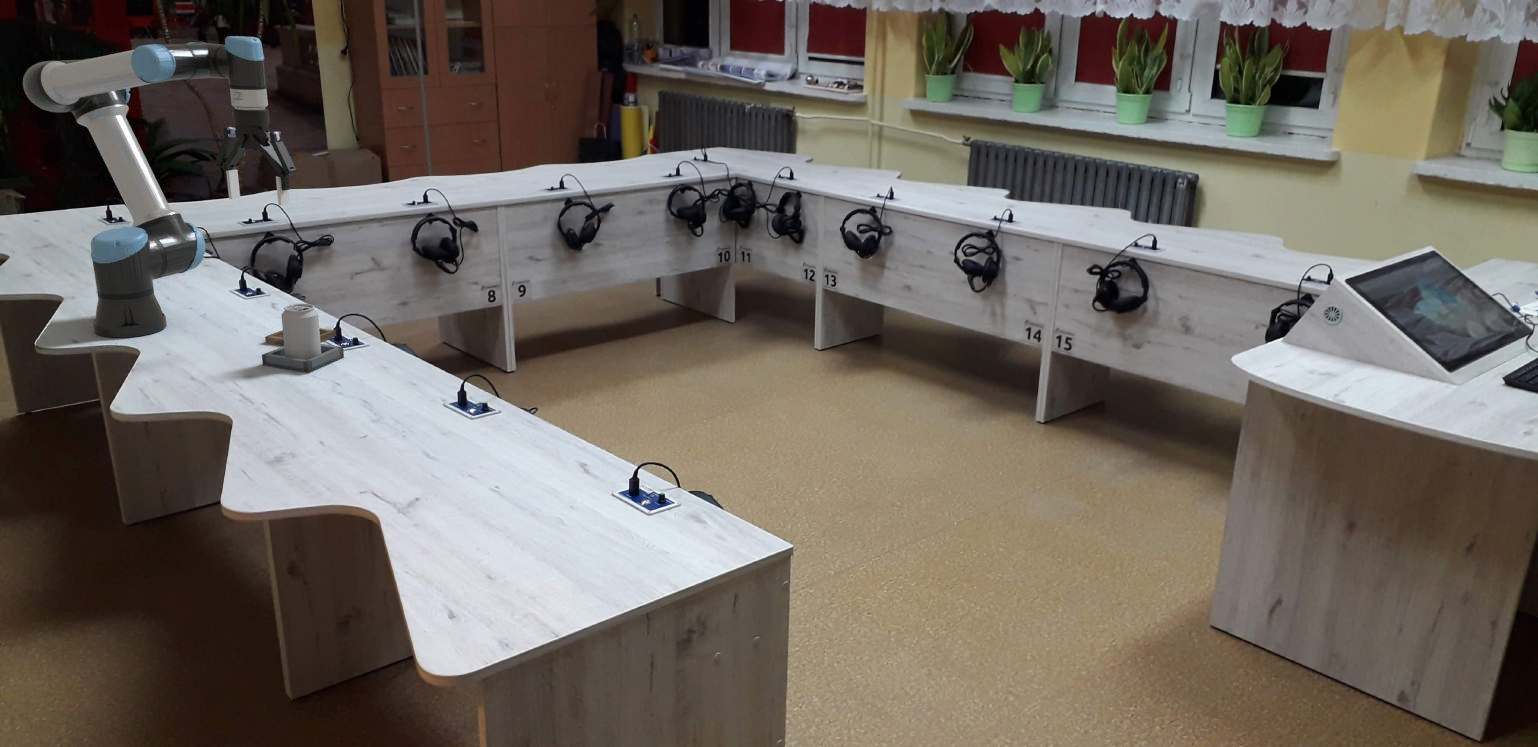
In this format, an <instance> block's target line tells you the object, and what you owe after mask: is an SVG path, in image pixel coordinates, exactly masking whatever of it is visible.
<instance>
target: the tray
mask: <svg viewBox="0 0 1538 747" xmlns="http://www.w3.org/2000/svg"><path fill="white" fill-rule="evenodd" d="M344 358H345V353H344V346H338V345H333V344H326V343H325V344H324V343H321V354H320V355H317V356H315V357H313V358H310V359H308V360H305V359H298V358H292V357H286V356H285V348H284V346H283V345H282V346H281V347H278V348H274V349H273V350H270V351H268V352H265V353H263V354H261V359H262V366H263V367H271V368H275V369H276V368H277V369H283V370H289V371H293V372H294V371H295V372H301V373H307V374H311V373H313V372H315V371H317V370H319V369H321V368H324V367H326V366H329V365H331V364H333V363H335V362H337V361H340V360H341V359H344Z"/></svg>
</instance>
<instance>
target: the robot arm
mask: <svg viewBox="0 0 1538 747" xmlns="http://www.w3.org/2000/svg"><path fill="white" fill-rule="evenodd" d="M224 43H225V44H219V43H209V42H203V41H199V42H198V41H193V42H187V43H176V44H175V43H174V44H172V43H171V44H158V43H149V44H144V45H139V46H137V47H136V48H135V49H131V50H126V51H122V52H116V53H113V54H107V55H103V56H98V57H92V58H84V59H71V60H70V59H67V60H64V59H63V60H47V61H46V60H45V61H41V62H37V63H34V65H31V66H30V67H29V68H28V69H27V70H26V72H25V73H24V75H23V79H22V88H23V90H24V93H25V95H26V97H27V98H28V99H29V101H30V102H31V103H32V104H34V105H35V106H37V107H38V108H39V109H42V110H43V111H48V112H50V113H51V112H52V113H69V112H70V113H72V114H73V116H74V118H75V121H76V123H77V124H79V125H81V126H83V127H86V128H87V129H88V131H89V134H90V135H91V137H92V139H93V141H94V143H95V146H96V147H97V149H98V152H99V153H100V156H101V157H102V159H103V161H104V163H105V166H106V167H107V169H108V172H109V174H110V175H111V177H112V179H113V182H114V184H115V186H116V188H117V190H118V192H119V194H120V196H121V197H122V200H123V202H124V204H125V206H126V208H127V210H128V212H129V214H130V216H131V218H132V220H133V222H132V225H131V226H124V227H123V226H122V227H120V228H118V227H116V228H112V229H107V230H104V231H100V232H98V233H97V234H96V235H94V236H93V238H92V239H91V242H90V250H91V252H90V258H91V261H92V266H93V273H94V279H95V285H96V292H97V293H96V294H97V299H98V300H97V304H96V311H95V318H94V319H93V322H92V325H93V330H94V334H96V335H98V336H102V337H105V338H106V337H107V338H132V337H134V338H135V337H140V336H146V335H151V334H155V333H159V332H161V331H163V330H164V329H166V327H167V318H166V315H165V313H164V312H163V310H162V307H161V306H160V303H159V301H158V299H157V297H156V294H155V289H154V282H153V281H154V280H158V279H162V278H164V277H169V276H173V275H177V274H184V273H186V272H188V271H191V270H194V269H195V268H197V267H198V266H199V265H200V264H201V263H202V262H203V260H204V255H205V254H206V242H205V238H204V235H203V233H202V231H201V230H200V228H199V227H198V226H196V225H194V224H193V223H191V222H187V221H184V219H183V216H182V214H181V212H179V211H176V210H174V209H172V208H171V206H170V205H169V202H168V201H167V199H166V196H165V194H164V193H163V191H162V189H161V187H160V184H159V183H158V180H157V179H156V176H155V174H154V172H153V170H152V168H151V166H150V164H149V162H148V160H147V158H146V155H145V154H144V152H143V149H142V148H141V146H140V145H141V144H139V142H138V139H137V137H136V136H135V133H134V131H133V129H132V127H131V124H129V121H128V119H127V114H128V112H129V109H130V108H129V105H128V103H129V101H130V97H131V94H130V93H129V92H130V91H131V88H137V87H141V86H145V85H151V84H158V83H163V82H168V81H179V80H194V79H195V80H196V79H199V80H200V79H225V80H228V83H229V84H228V85H229V91H230V92H229V93H230V94H229V95H230V101H231V106H232V107H234V108H232V110H231V113H232V122H233V125H234V126H227V127H224V128H223V138H222V142H221V144H220V147H219V151H218V155H217V156H216V161H215V167H217V168H221V169H222V170H223V174H224V182H225V184H227V192H228V199H229V200H235V199H240V198H241V192H240V183H239V172H238V169H236V165H238V163H239V161H240V160H241V158H242V156H243V155H244V153H245V151H246V150H253V151H258V152H259V153H261V154H262V155H263V156H264V157H265V158H266V160H267V161H268V162H269V164H270V165H271V167H273V169H274V171H275V172H276V173H277V175H276V176H275V182H276V194H277V203H278V204H277V205H278V206H284V205H287V204H290V197H289V191H290V189H291V182H290V176H291V175H293V174H296V173H297V171H298V170H297V168H296V165H295V164H294V162H293V159H292V158H291V156H290V154H289V151H288V149H287V147H286V146H285V143H284V141H283V136H282V131H279V130H277V131H269V125H270V112H269V110H268V108H267V107H268V106H269V103H268V102H269V100H268V92H267V84H266V72H265V56H264V55H265V54H264V51H263V45H262V41H261V40H260V38H258V37H255V36H244V35H242V36H241V35H240V36H239V35H235V36H233V35H231V36H226V37H225V38H224ZM236 138H237V140H236ZM233 147H234V148H233Z"/></svg>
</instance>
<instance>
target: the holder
mask: <svg viewBox="0 0 1538 747" xmlns="http://www.w3.org/2000/svg"><path fill="white" fill-rule="evenodd" d="M319 331H320V343H321V344H322V343H324V342H326V341H328V340H331V339H333V338H335V336H336V337H337V334H336V333H337V331H336V329H329V328H322V327H319ZM264 340H265V343H266V344H272V345H277V346H282V347H283V346H284V337H283V329H282V330H279V331H276V332H274V333H271V334H268V335H265V337H264Z"/></svg>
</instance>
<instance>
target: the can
mask: <svg viewBox="0 0 1538 747" xmlns="http://www.w3.org/2000/svg"><path fill="white" fill-rule="evenodd" d="M283 310H284V311H283V312H282V313H281V315H280V316H281V326H282V330H283V337H284V348H285V356H286V357H292V358H298V359H305V360H308V359H310V358H313V357H315V356H317V355H320V354H321V344H322V342H321V343H320V331H319V328H320V320H319V312H318V311H317V310H316V309H315V306H314V305H313V304H309V303H293V304H289V305H286V306H284V307H283Z"/></svg>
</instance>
